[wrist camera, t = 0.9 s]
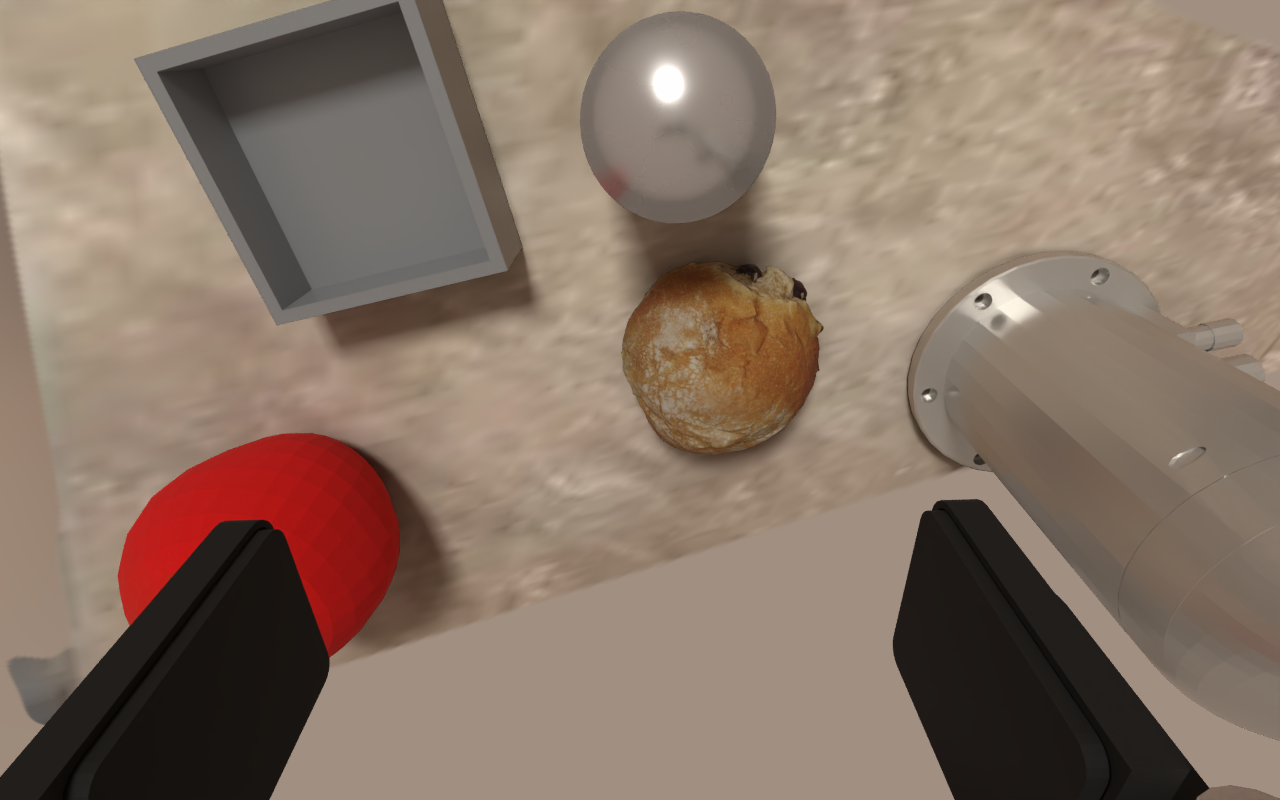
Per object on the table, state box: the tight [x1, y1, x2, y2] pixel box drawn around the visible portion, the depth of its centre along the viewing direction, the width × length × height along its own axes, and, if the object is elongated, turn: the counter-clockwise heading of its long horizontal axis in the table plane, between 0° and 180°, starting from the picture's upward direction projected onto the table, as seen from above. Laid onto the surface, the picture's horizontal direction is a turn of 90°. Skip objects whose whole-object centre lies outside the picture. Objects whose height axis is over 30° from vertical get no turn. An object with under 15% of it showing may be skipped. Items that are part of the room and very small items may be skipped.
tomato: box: [118, 433, 400, 658], centre depth 34 cm, size 12×12×13 cm
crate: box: [134, 0, 522, 325], centre depth 29 cm, size 11×11×4 cm
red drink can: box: [580, 11, 776, 224], centre depth 25 cm, size 6×6×9 cm
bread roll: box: [621, 262, 824, 455], centre depth 33 cm, size 10×10×8 cm
